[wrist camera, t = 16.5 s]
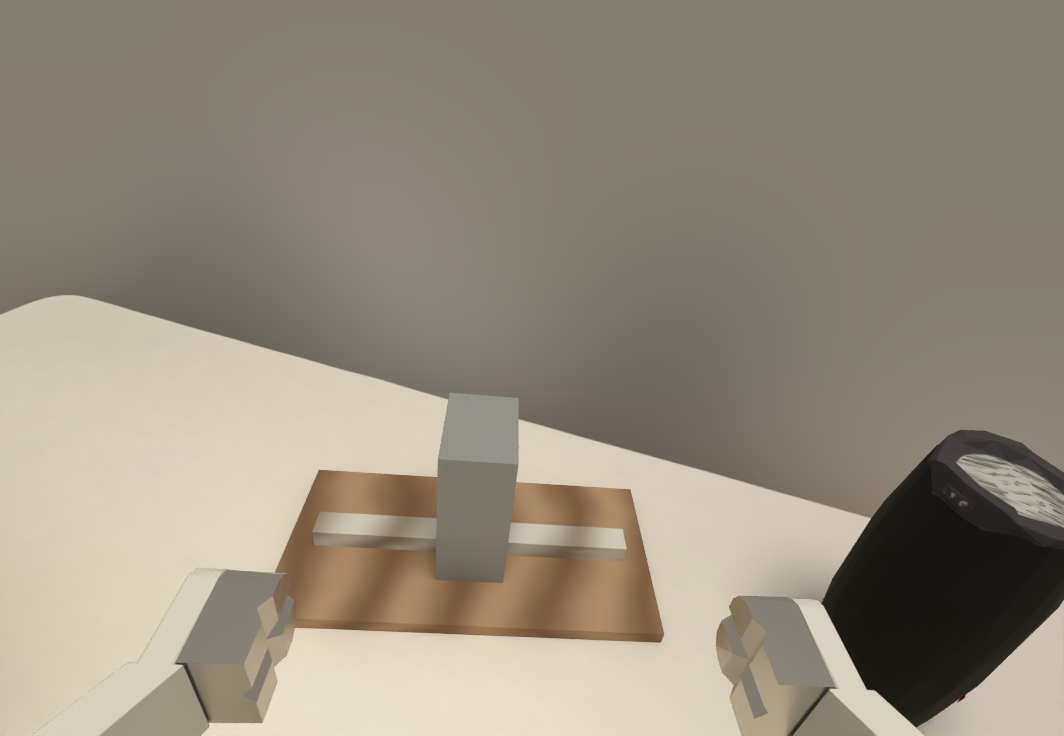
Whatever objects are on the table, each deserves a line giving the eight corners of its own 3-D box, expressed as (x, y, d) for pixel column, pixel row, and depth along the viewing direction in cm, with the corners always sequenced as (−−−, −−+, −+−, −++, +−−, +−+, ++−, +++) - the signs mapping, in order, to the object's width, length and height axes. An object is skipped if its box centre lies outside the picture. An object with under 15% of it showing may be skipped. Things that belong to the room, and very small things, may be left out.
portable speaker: (961, 726, 37) (1181, 531, 26) (848, 760, 34) (1040, 559, 24) (867, 610, 44) (1011, 418, 33) (767, 631, 41) (888, 430, 31)
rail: (258, 625, 37) (252, 603, 36) (320, 478, 49) (317, 457, 48) (660, 642, 40) (669, 621, 38) (628, 497, 51) (633, 477, 50)
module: (434, 579, 41) (437, 459, 34) (445, 507, 47) (448, 392, 40) (503, 583, 41) (519, 464, 35) (505, 511, 47) (519, 398, 40)
